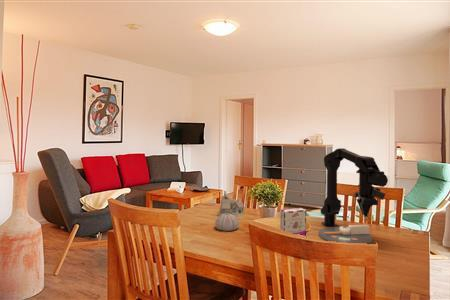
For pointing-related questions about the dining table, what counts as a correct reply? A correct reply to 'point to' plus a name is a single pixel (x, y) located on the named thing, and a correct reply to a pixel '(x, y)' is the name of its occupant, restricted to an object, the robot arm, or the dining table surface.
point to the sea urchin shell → (227, 222)
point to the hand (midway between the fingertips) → (364, 215)
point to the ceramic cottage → (231, 206)
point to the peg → (351, 230)
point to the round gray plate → (344, 236)
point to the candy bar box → (293, 221)
